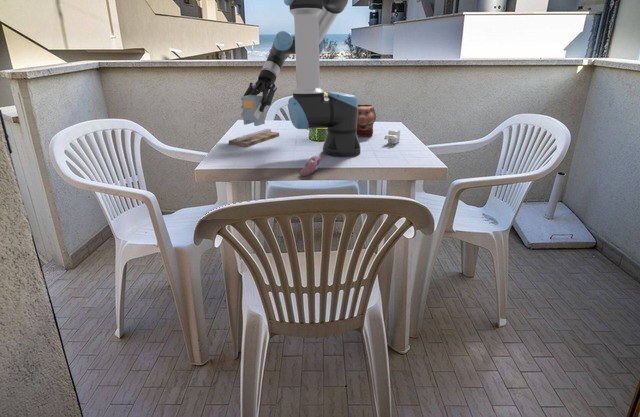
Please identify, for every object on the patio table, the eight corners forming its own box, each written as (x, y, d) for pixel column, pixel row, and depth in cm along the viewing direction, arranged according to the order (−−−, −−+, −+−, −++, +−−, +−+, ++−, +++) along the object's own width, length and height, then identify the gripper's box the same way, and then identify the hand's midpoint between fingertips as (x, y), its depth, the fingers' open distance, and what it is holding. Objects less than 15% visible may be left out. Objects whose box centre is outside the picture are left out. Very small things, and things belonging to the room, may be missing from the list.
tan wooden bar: (267, 131, 194) (266, 128, 194) (271, 132, 193) (271, 129, 193) (237, 141, 176) (236, 137, 176) (241, 141, 175) (241, 138, 175)
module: (252, 122, 187) (250, 94, 182) (264, 123, 184) (263, 96, 179) (243, 124, 182) (241, 96, 177) (256, 126, 179) (254, 97, 174)
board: (261, 133, 197) (261, 130, 197) (279, 135, 193) (279, 132, 192) (228, 144, 178) (228, 140, 177) (247, 146, 173) (247, 143, 173)
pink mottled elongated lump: (309, 181, 137) (319, 164, 134) (297, 175, 137) (307, 157, 134) (315, 173, 146) (324, 156, 143) (304, 166, 146) (313, 149, 143)
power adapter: (392, 147, 174) (393, 133, 172) (381, 146, 176) (382, 132, 174) (400, 142, 183) (401, 128, 181) (390, 140, 185) (391, 127, 183)
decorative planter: (347, 129, 207) (348, 101, 201) (372, 130, 207) (373, 101, 202) (351, 139, 188) (352, 108, 183) (377, 139, 188) (379, 108, 183)
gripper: (291, 81, 184) (271, 123, 177) (254, 78, 193) (235, 119, 186) (284, 69, 178) (263, 113, 171) (247, 67, 186) (226, 109, 180)
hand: (248, 116), depth 178 cm, fingers closed on module, 7 cm apart
